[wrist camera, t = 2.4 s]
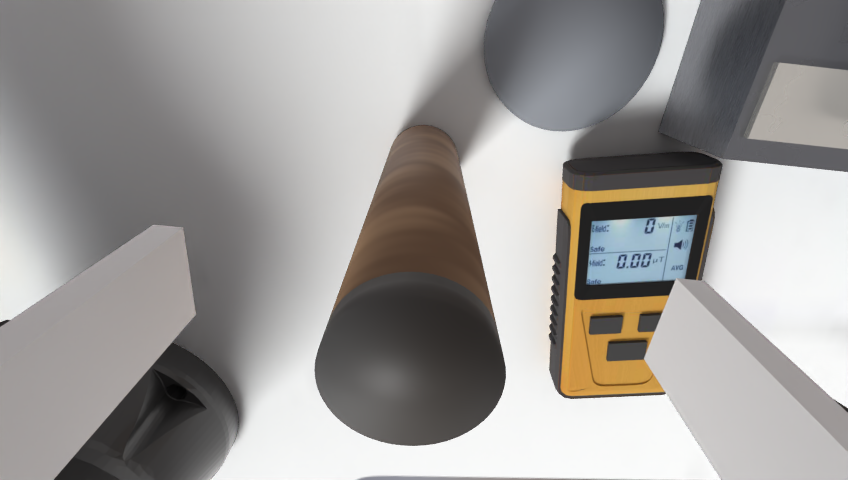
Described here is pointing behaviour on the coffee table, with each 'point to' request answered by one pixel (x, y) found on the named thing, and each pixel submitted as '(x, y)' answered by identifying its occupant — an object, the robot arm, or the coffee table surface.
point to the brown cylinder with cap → (414, 308)
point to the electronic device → (624, 264)
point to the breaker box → (765, 83)
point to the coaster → (570, 57)
